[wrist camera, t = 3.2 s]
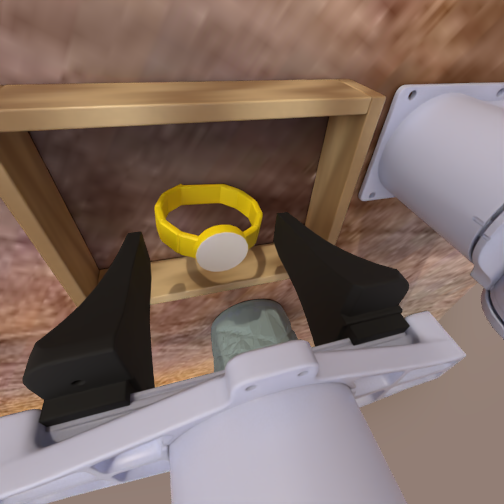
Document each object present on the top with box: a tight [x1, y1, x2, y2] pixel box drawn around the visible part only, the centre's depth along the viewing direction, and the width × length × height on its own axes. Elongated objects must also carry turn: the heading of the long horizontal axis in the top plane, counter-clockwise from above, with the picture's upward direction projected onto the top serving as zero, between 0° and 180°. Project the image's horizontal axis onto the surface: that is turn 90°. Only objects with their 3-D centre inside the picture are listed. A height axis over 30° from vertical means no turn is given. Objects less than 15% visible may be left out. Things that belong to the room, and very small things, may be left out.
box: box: [0, 79, 386, 307], centre depth 17 cm, size 18×13×4 cm
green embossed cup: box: [211, 299, 298, 372], centre depth 27 cm, size 10×10×12 cm
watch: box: [155, 184, 263, 272], centre depth 16 cm, size 6×3×6 cm, turn 80°
